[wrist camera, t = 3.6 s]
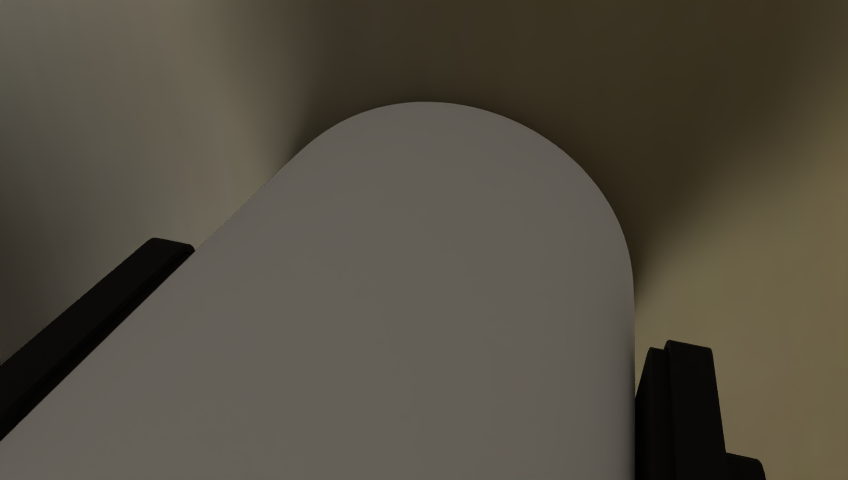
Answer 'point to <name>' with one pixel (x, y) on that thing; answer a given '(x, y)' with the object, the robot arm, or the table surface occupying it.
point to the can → (372, 325)
